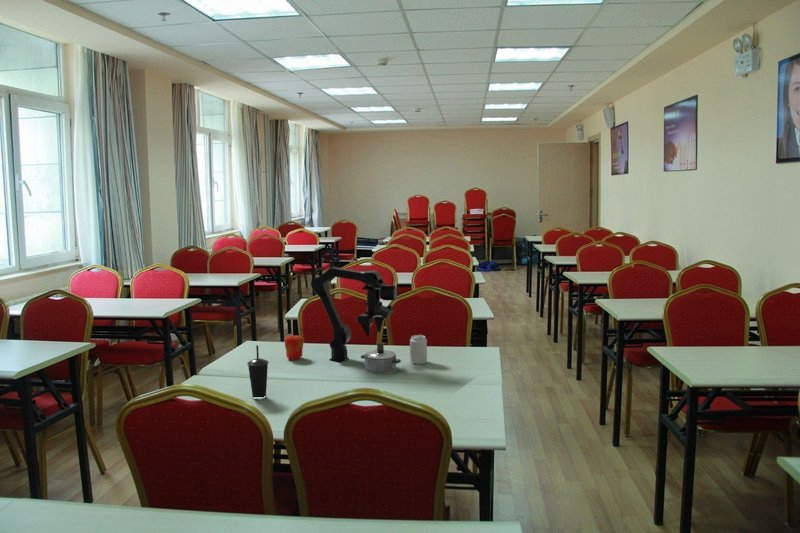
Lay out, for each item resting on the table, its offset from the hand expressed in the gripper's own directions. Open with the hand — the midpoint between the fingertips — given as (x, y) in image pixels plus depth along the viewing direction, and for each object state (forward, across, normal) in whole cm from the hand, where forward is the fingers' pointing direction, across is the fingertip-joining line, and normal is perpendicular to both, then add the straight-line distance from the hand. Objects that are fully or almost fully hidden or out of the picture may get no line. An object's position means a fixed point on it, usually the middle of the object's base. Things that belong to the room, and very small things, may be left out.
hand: (373, 334), depth 281 cm
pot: (+12, -8, -8) cm, 17 cm away
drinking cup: (+13, -60, +14) cm, 63 cm away
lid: (+6, -8, -8) cm, 13 cm away
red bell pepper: (+13, -12, +35) cm, 39 cm away
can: (+13, +8, -18) cm, 23 cm away
